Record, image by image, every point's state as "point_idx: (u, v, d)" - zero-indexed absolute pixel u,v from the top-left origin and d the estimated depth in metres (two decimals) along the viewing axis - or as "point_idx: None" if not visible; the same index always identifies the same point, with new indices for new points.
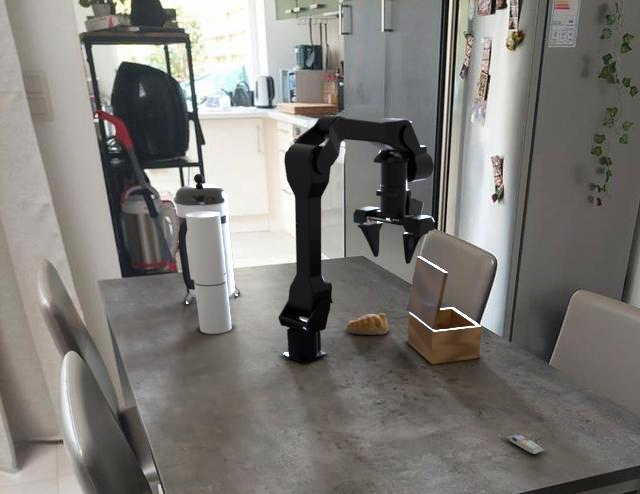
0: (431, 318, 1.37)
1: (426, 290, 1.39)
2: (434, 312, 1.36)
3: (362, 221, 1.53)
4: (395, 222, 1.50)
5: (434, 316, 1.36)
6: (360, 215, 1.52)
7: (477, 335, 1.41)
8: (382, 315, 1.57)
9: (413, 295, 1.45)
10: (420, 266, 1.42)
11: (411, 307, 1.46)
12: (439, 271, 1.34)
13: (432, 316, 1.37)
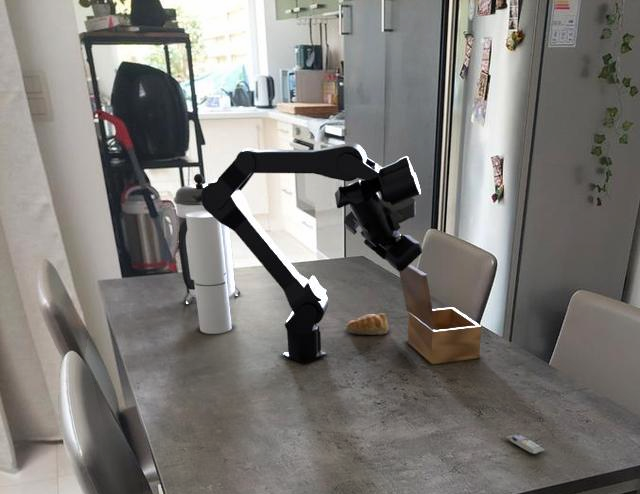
0: (428, 320, 1.37)
1: (415, 292, 1.39)
2: (428, 314, 1.36)
3: (353, 233, 1.40)
4: None
5: (429, 317, 1.36)
6: (349, 227, 1.39)
7: (477, 335, 1.41)
8: (382, 315, 1.57)
9: (407, 297, 1.45)
10: None
11: (409, 308, 1.46)
12: (418, 274, 1.33)
13: (428, 317, 1.37)
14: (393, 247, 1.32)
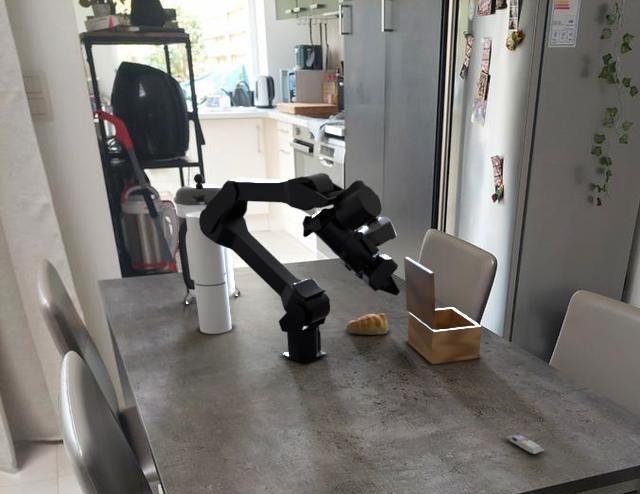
0: (429, 319, 1.37)
1: (419, 291, 1.39)
2: (430, 313, 1.36)
3: (348, 269, 1.39)
4: None
5: (431, 316, 1.36)
6: (343, 265, 1.39)
7: (477, 335, 1.41)
8: (382, 315, 1.57)
9: (409, 296, 1.45)
10: (409, 267, 1.41)
11: (409, 307, 1.46)
12: (425, 272, 1.33)
13: (429, 317, 1.37)
14: (368, 268, 1.28)
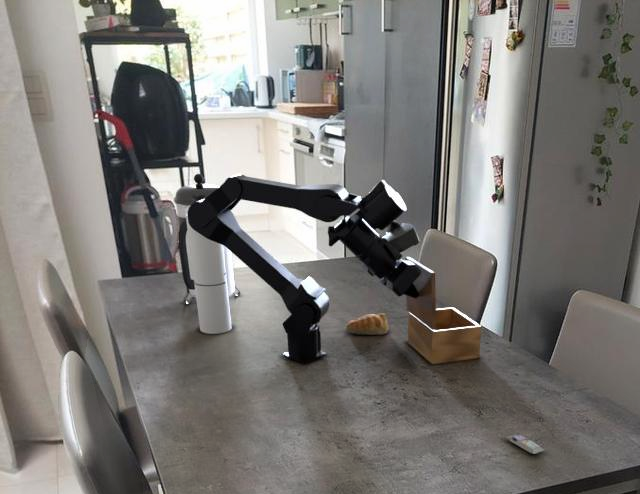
0: (429, 319, 1.37)
1: (419, 291, 1.39)
2: (430, 313, 1.36)
3: (371, 275, 1.41)
4: (391, 272, 1.35)
5: (431, 316, 1.36)
6: (366, 270, 1.41)
7: (477, 335, 1.41)
8: (382, 315, 1.57)
9: (409, 296, 1.45)
10: None
11: (410, 307, 1.46)
12: (426, 272, 1.33)
13: (430, 316, 1.37)
14: (391, 274, 1.30)
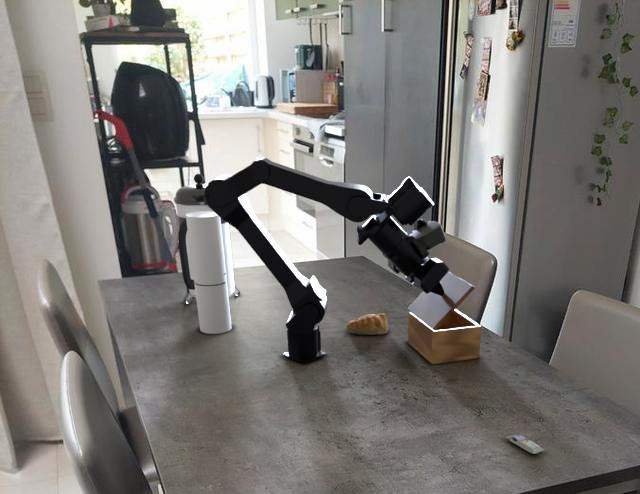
0: (437, 319, 1.38)
1: (441, 296, 1.41)
2: (443, 315, 1.37)
3: (396, 272, 1.43)
4: (417, 270, 1.36)
5: (441, 318, 1.37)
6: (391, 268, 1.42)
7: (477, 335, 1.41)
8: (382, 315, 1.57)
9: (422, 298, 1.46)
10: (444, 276, 1.44)
11: (414, 307, 1.46)
12: (466, 283, 1.37)
13: (439, 317, 1.38)
14: (419, 271, 1.31)
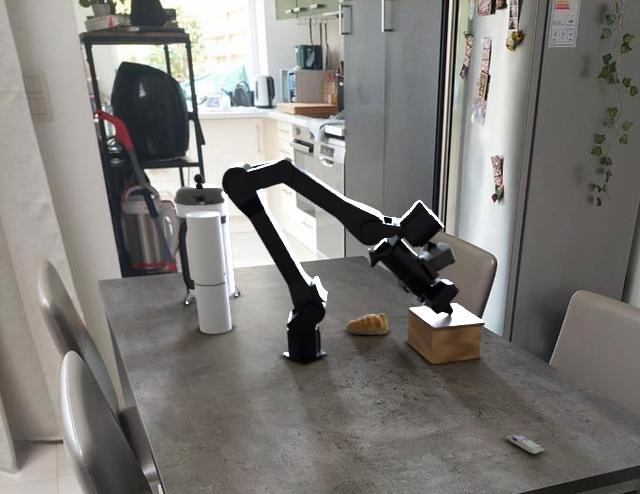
0: (440, 325, 1.39)
1: (449, 315, 1.44)
2: (447, 325, 1.39)
3: (406, 292, 1.46)
4: (428, 290, 1.39)
5: (445, 325, 1.38)
6: (402, 287, 1.45)
7: (477, 335, 1.41)
8: (382, 315, 1.57)
9: (427, 309, 1.48)
10: (455, 307, 1.49)
11: (416, 310, 1.47)
12: (478, 318, 1.42)
13: (443, 325, 1.39)
14: (430, 293, 1.34)
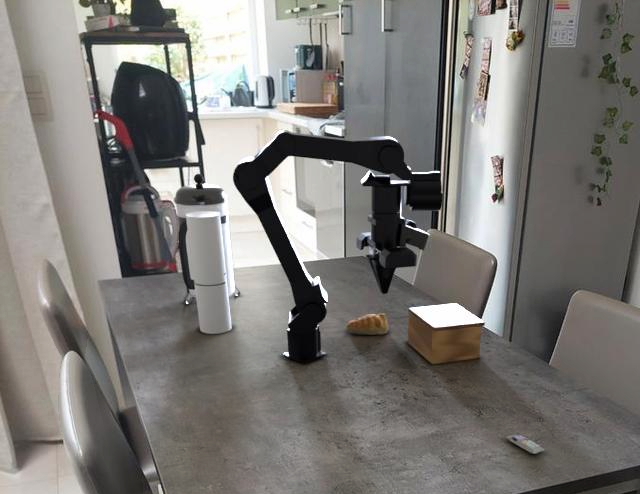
0: (440, 325, 1.39)
1: (449, 315, 1.44)
2: (447, 325, 1.39)
3: (360, 247, 1.39)
4: None
5: (445, 325, 1.38)
6: (359, 240, 1.39)
7: (477, 335, 1.41)
8: (382, 315, 1.57)
9: (427, 309, 1.48)
10: (455, 307, 1.49)
11: (416, 310, 1.47)
12: (478, 318, 1.42)
13: (443, 325, 1.39)
14: (391, 248, 1.29)
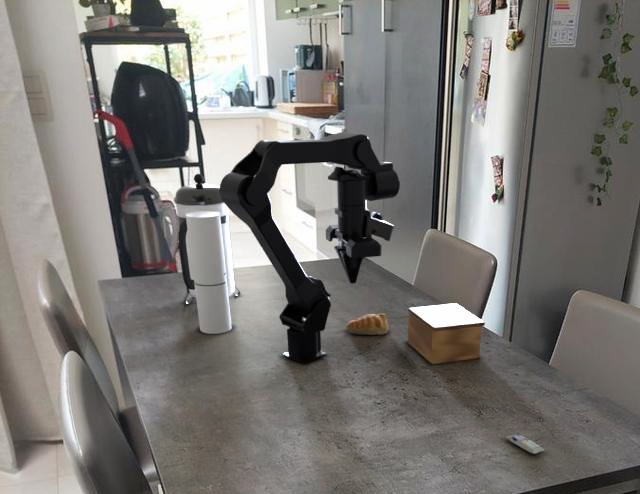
0: (440, 325, 1.39)
1: (449, 315, 1.44)
2: (447, 325, 1.39)
3: (329, 238, 1.45)
4: None
5: (445, 325, 1.38)
6: (328, 232, 1.45)
7: (477, 335, 1.41)
8: (382, 315, 1.57)
9: (427, 309, 1.48)
10: (455, 307, 1.49)
11: (416, 310, 1.47)
12: (478, 318, 1.42)
13: (443, 325, 1.39)
14: (357, 239, 1.35)
